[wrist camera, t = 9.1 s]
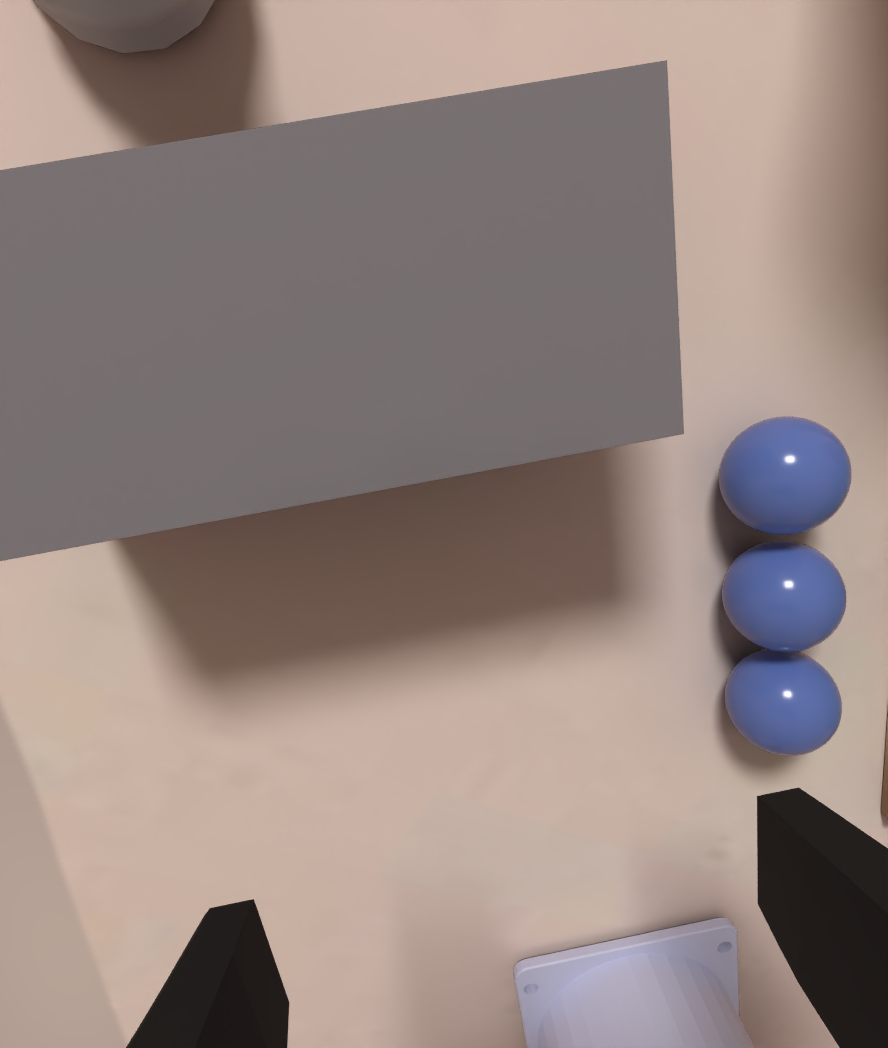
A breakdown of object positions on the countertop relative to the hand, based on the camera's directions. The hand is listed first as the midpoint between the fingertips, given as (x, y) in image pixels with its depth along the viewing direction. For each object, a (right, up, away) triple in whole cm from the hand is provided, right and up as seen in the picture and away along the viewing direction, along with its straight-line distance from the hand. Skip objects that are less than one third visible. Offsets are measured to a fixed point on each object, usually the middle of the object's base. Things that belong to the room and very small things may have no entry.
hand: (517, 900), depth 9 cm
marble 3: (+9, +1, +11) cm, 14 cm away
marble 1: (+7, +7, +9) cm, 14 cm away
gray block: (-4, +10, +7) cm, 13 cm away
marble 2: (+8, +4, +10) cm, 13 cm away
